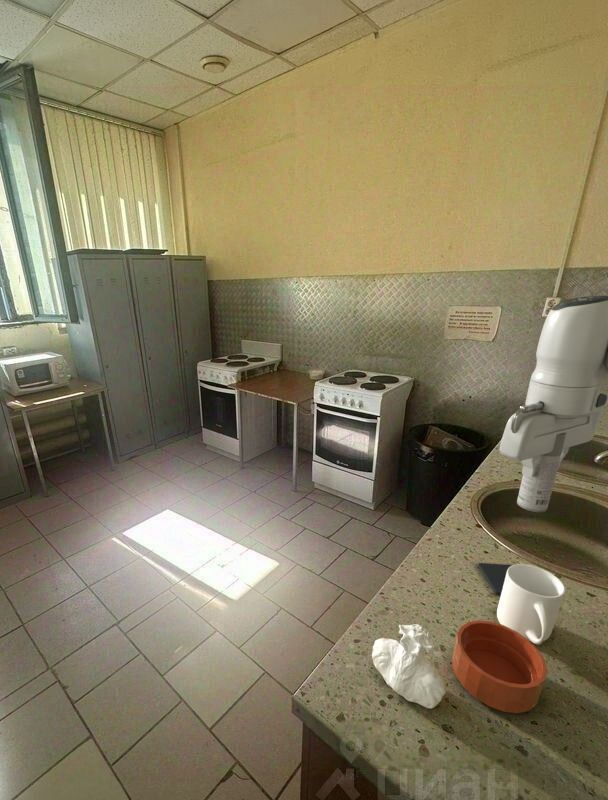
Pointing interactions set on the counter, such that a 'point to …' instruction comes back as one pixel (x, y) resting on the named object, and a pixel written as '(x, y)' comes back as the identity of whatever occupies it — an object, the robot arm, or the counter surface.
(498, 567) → the mat
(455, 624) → the counter surface
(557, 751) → the counter surface
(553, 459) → the container
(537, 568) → the mug
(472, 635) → the bowl
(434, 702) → the white plastic bag
